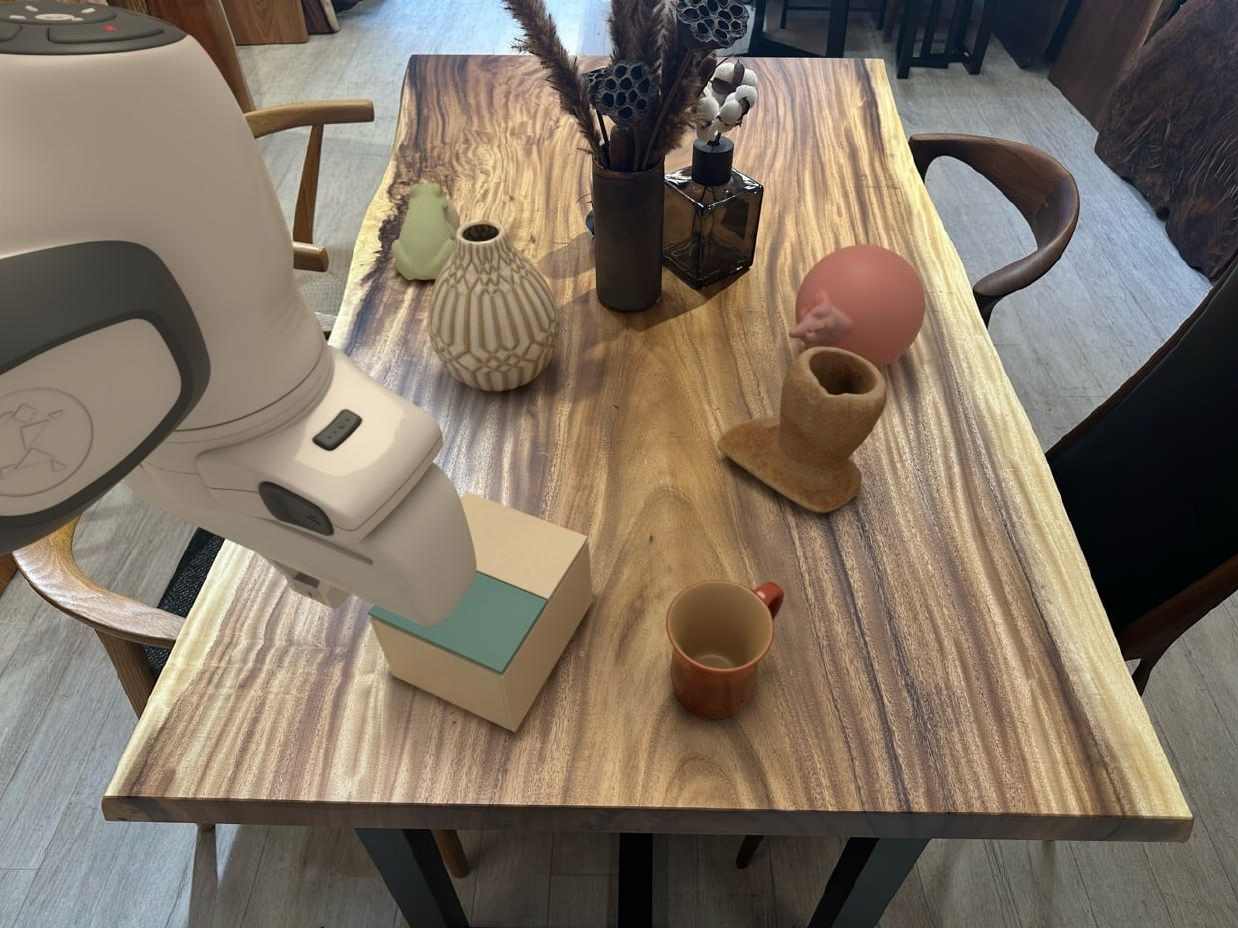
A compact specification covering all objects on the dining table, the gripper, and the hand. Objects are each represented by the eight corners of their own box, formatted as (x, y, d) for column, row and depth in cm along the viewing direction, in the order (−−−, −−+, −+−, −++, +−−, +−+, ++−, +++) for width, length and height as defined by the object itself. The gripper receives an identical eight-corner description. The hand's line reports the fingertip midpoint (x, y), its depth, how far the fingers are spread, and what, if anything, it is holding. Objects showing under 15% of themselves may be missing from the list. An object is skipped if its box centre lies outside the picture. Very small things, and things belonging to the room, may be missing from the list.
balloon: (736, 361, 105) (748, 258, 94) (846, 309, 112) (869, 208, 101) (819, 428, 96) (844, 323, 85) (932, 367, 104) (969, 263, 92)
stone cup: (884, 477, 90) (919, 374, 80) (817, 533, 85) (845, 430, 74) (779, 410, 98) (798, 308, 87) (712, 457, 93) (723, 354, 82)
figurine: (475, 227, 129) (465, 167, 121) (459, 286, 117) (448, 224, 110) (412, 227, 129) (399, 168, 122) (390, 286, 118) (374, 224, 110)
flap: (502, 674, 63) (501, 672, 63) (368, 615, 67) (367, 612, 66) (547, 602, 67) (547, 600, 67) (420, 551, 71) (419, 548, 71)
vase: (571, 402, 100) (560, 261, 85) (441, 419, 98) (408, 278, 83) (554, 326, 110) (542, 189, 96) (437, 340, 109) (407, 203, 94)
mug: (709, 751, 69) (719, 693, 61) (642, 680, 73) (644, 618, 66) (803, 670, 74) (823, 607, 66) (735, 608, 79) (746, 543, 71)
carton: (515, 732, 70) (501, 673, 62) (392, 675, 74) (366, 612, 66) (592, 601, 79) (588, 535, 72) (480, 556, 83) (465, 490, 76)
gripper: (15, 387, 37) (146, 569, 47) (381, 536, 30) (442, 709, 40) (127, 312, 40) (226, 495, 50) (472, 431, 34) (507, 612, 44)
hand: (324, 591), depth 45 cm, fingers closed
